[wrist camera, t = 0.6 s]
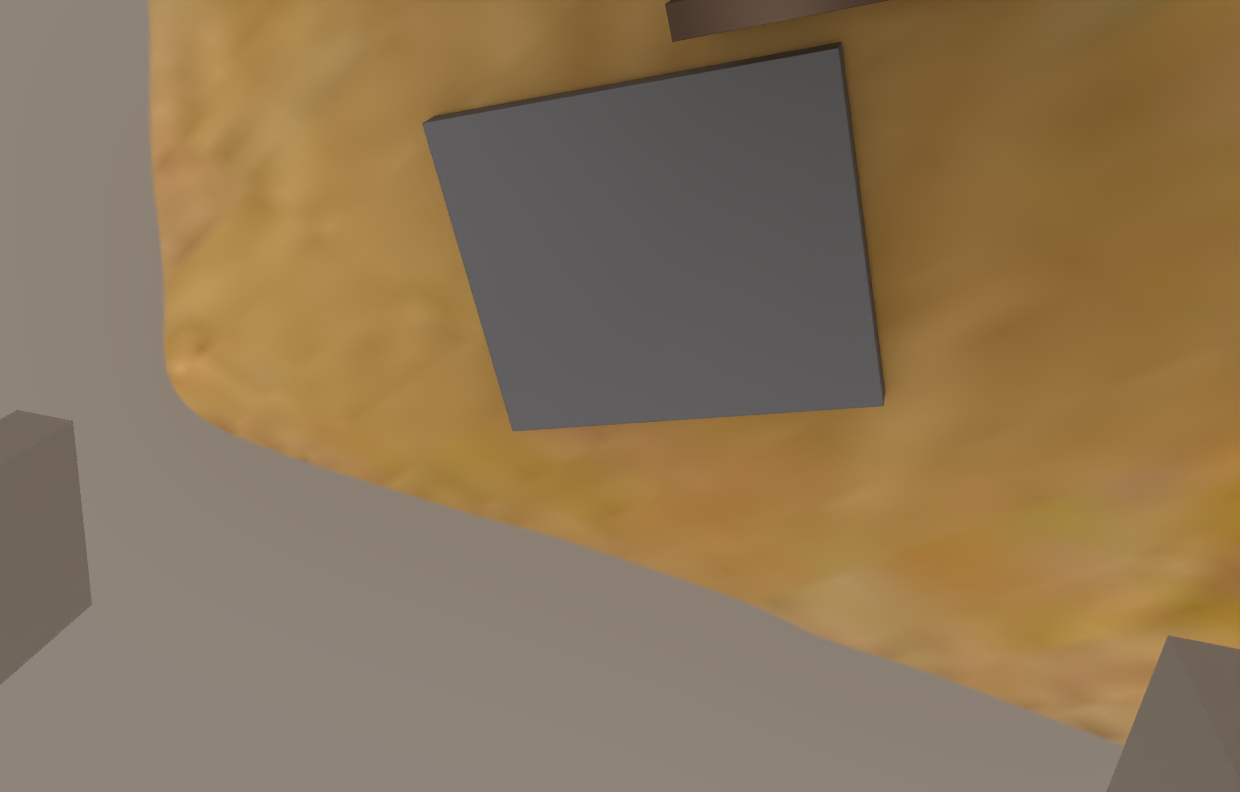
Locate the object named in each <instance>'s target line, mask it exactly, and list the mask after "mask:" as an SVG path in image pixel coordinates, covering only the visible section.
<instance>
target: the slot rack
mask: <svg viewBox="0 0 1240 792" xmlns="http://www.w3.org/2000/svg"><path fill="white" fill-rule="evenodd" d="M883 1H888V0H671V1H669V2H668V3H666V4H665V5H666V10H667V16H668V21H669V26H670V32H671V37H672V42H675V41H680V40H685V39H690V38H696V37H701V36H706V35H711V34H716V33H722V32H727V31H732V30H737V29H742V28H748V27H753V26H758V25H763V24H768V23H774V22H779V21H784V20H789V19H794V18H800V17H805V16H810V15H815V14H820V13H826V12H831V11H836V10H841V9H846V8H852V7H857V6H862V5H867V4H872V3H878V2H883Z"/></svg>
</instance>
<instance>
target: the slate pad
mask: <svg viewBox="0 0 1240 792" xmlns="http://www.w3.org/2000/svg"><path fill="white" fill-rule="evenodd" d="M422 124H423V127H424V131H425V134H426V137H427V141H428V144H429V148H430V151H431V154H432V158H433V161H434V165H435V168H436V171H437V175H438V178H439V182H440V185H441V188H442V192H443V195H444V199H445V202H446V205H447V209H448V212H449V216H450V219H451V222H452V226H453V229H454V233H455V236H456V239H457V243H458V246H459V250H460V253H461V256H462V260H463V263H464V267H465V270H466V273H467V277H468V280H469V284H470V287H471V290H472V294H473V297H474V301H475V304H476V308H477V311H478V314H479V318H480V321H481V325H482V328H483V331H484V335H485V338H486V342H487V345H488V348H489V352H490V355H491V359H492V362H493V365H494V369H495V372H496V376H497V379H498V382H499V386H500V389H501V393H502V396H503V399H504V403H505V406H506V410H507V413H508V416H509V420H510V423H511V427H512V430H513V431H523V430H538V429H553V428H567V427H582V426H597V425H612V424H626V423H641V422H656V421H671V420H685V419H700V418H715V417H730V416H744V415H759V414H774V413H789V412H803V411H818V410H833V409H848V408H863V407H877V406H884V397H885V389H884V381H883V373H882V365H881V357H880V349H879V341H878V333H877V325H876V317H875V309H874V301H873V293H872V285H871V277H870V269H869V261H868V253H867V245H866V237H865V229H864V221H863V213H862V205H861V197H860V189H859V181H858V173H857V165H856V157H855V149H854V141H853V133H852V125H851V117H850V109H849V101H848V93H847V85H846V77H845V69H844V61H843V53H842V45H841V42H840V43H834V44H829V45H823V46H818V47H812V48H807V49H801V50H796V51H790V52H785V53H780V54H774V55H769V56H763V57H758V58H752V59H747V60H741V61H736V62H730V63H725V64H719V65H714V66H708V67H703V68H697V69H692V70H686V71H681V72H675V73H670V74H664V75H659V76H653V77H648V78H642V79H637V80H631V81H626V82H620V83H615V84H609V85H604V86H598V87H593V88H587V89H582V90H576V91H571V92H565V93H560V94H554V95H549V96H543V97H538V98H532V99H527V100H521V101H516V102H510V103H505V104H499V105H494V106H488V107H483V108H478V109H472V110H467V111H461V112H456V113H450V114H445V115H439V116H434V117H432V118H431V119H429V120H427V121H425V122H424V123H422Z"/></svg>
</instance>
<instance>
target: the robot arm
mask: <svg viewBox="0 0 1240 792" xmlns="http://www.w3.org/2000/svg"><path fill="white" fill-rule="evenodd" d="M91 605H92V601H91V592H90V582H89V572H88V562H87V553H86V544H85V534H84V524H83V514H82V504H81V495H80V485H79V475H78V466H77V456H76V446H75V437H74V427H73V421H70V420H65V419H61V418H56V417H50V416H45V415H40V414H35V413H30V412H25V411H20V410H16V411H14V412H13V413H11V414H9V415H7V416H5V417H4V418H2V419H0V685H1V684H2V683H3V682H4V681H5V680H7V679H8V678H9V677H10V676H11V675H12V674H13V673H14V672H16V671H17V670H18V669H19V668H20V667H21V666H23V665H24V664H25V663H26V662H27V661H28V660H29V659H30V658H31V657H33V656H34V655H35V654H36V653H37V652H38V651H40V650H41V649H42V648H43V647H44V646H45V645H46V644H48V643H49V642H50V641H51V640H52V639H53V638H54V637H55V636H57V635H58V634H59V633H60V632H61V631H62V630H63V629H65V628H66V627H67V626H68V625H69V624H70V623H71V622H73V621H74V620H75V619H76V618H77V617H78V616H79V615H81V613H83V612H84V611H85V610H86V609H87V608H89V607H90V606H91ZM1107 792H1240V649H1235V648H1230V647H1225V646H1220V645H1215V644H1210V643H1205V642H1200V641H1194V640H1189V639H1184V638H1179V637H1174V636H1169V635H1168V637H1167V639H1166V642H1165V644H1164V647H1163V650H1162V652H1161V655H1160V657H1159V660H1158V662H1157V665H1156V667H1155V670H1154V672H1153V675H1152V677H1151V680H1150V683H1149V685H1148V688H1147V690H1146V693H1145V695H1144V698H1143V700H1142V703H1141V705H1140V708H1139V711H1138V713H1137V716H1136V718H1135V721H1134V723H1133V726H1132V728H1131V731H1130V733H1129V736H1128V738H1127V741H1126V744H1125V746H1124V749H1123V751H1122V754H1121V756H1120V759H1119V761H1118V764H1117V766H1116V769H1115V772H1114V774H1113V777H1112V779H1111V782H1110V784H1109V787H1108V789H1107Z"/></svg>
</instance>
